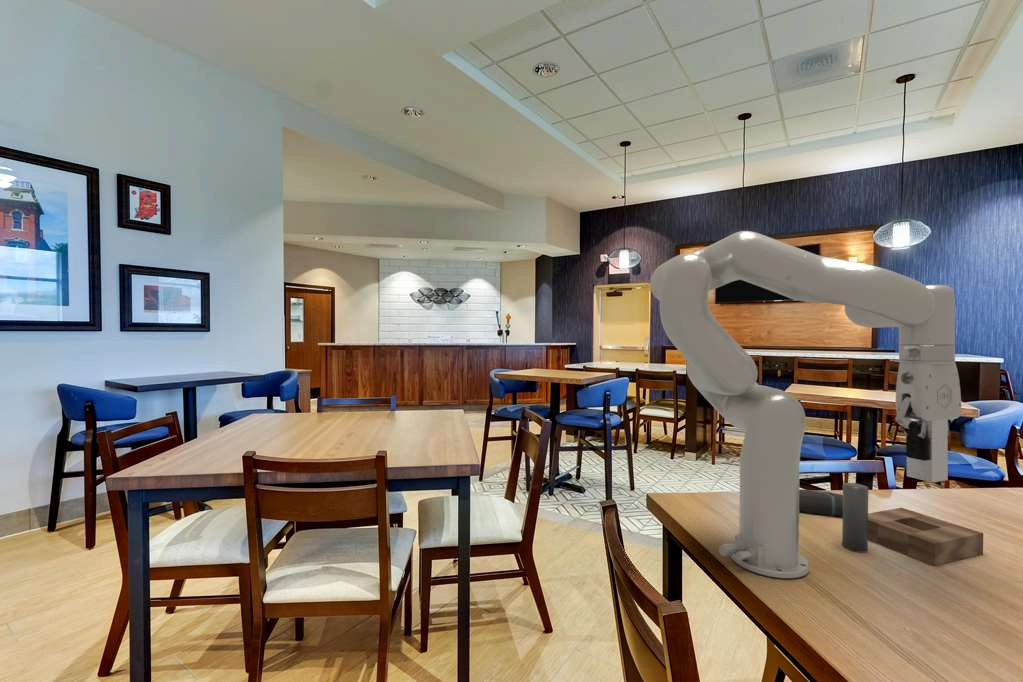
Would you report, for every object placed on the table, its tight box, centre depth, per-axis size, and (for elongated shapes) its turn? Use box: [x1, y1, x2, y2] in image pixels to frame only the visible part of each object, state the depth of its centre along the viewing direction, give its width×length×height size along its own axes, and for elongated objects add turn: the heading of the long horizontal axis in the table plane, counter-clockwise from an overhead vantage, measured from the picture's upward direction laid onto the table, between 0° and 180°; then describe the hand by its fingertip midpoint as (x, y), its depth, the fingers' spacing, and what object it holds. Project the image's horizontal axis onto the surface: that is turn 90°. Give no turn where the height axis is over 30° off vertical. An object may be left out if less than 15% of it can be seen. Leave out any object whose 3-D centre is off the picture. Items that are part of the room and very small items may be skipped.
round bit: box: [841, 482, 869, 553], centre depth 92 cm, size 4×4×12 cm
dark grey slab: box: [799, 488, 843, 517], centre depth 110 cm, size 5×19×20 cm
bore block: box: [868, 507, 984, 567], centre depth 94 cm, size 14×14×4 cm
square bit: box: [906, 415, 949, 483], centre depth 85 cm, size 4×4×12 cm
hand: (926, 456), depth 85 cm, fingers closed on square bit, 4 cm apart
